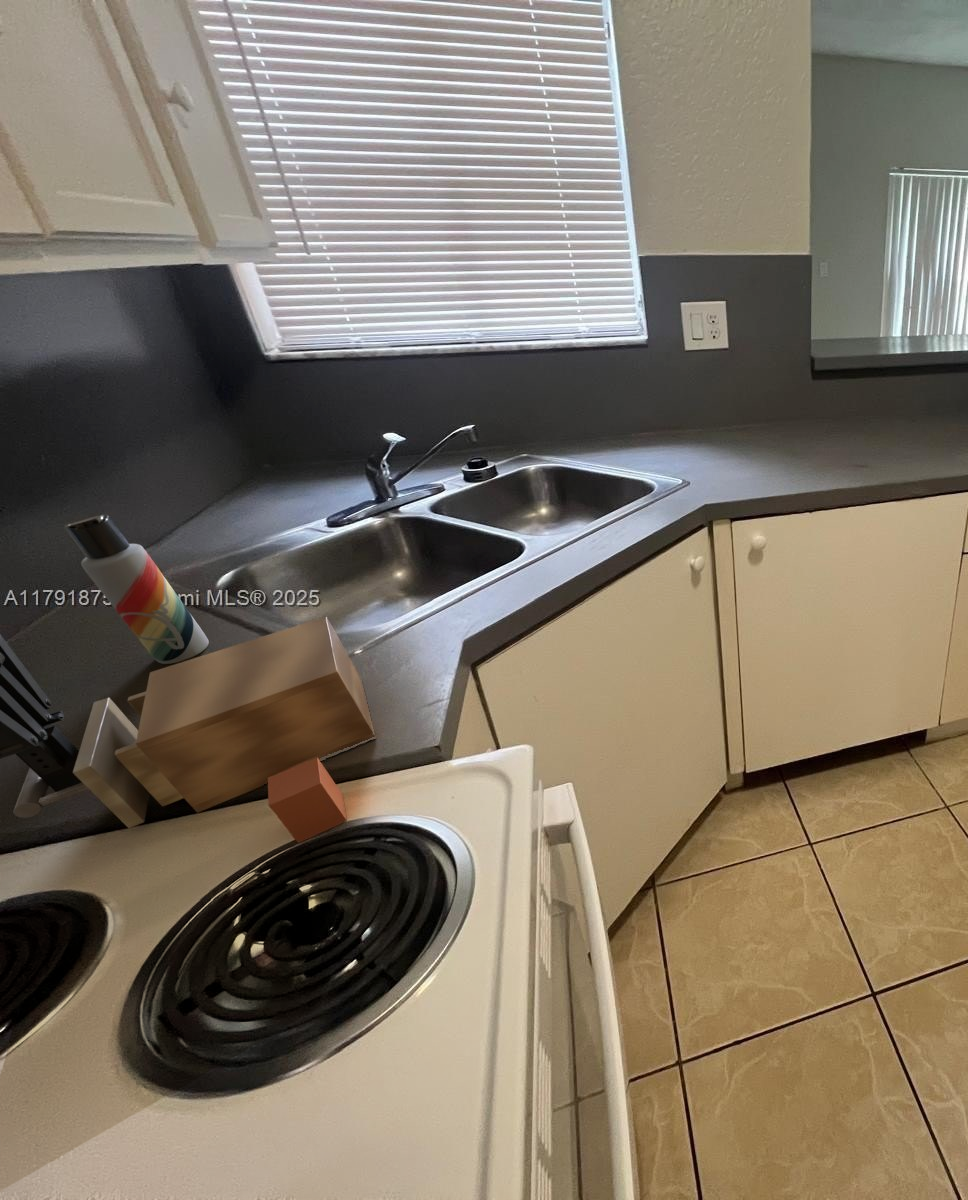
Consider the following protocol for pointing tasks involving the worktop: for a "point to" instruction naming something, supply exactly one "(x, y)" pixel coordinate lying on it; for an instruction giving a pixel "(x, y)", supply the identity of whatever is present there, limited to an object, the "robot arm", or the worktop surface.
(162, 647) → the lotion bottle
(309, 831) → the block
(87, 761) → the drawer
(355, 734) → the cabinet
